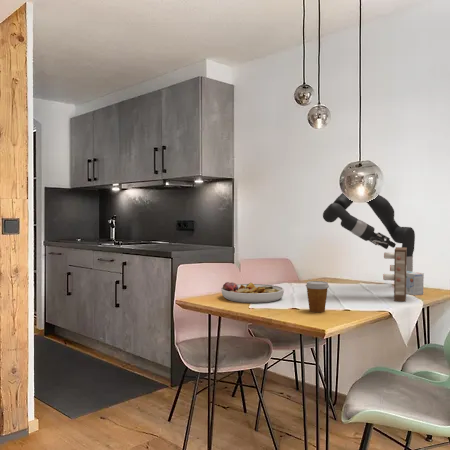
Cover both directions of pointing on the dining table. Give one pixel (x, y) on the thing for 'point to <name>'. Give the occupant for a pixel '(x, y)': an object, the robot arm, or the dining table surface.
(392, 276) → the bottom button
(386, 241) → the robot arm
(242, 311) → the dining table surface
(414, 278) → the light bulb box
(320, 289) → the disposable coffee cup
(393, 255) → the top button
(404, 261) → the wooden peg board
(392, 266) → the middle button
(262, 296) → the bowl
